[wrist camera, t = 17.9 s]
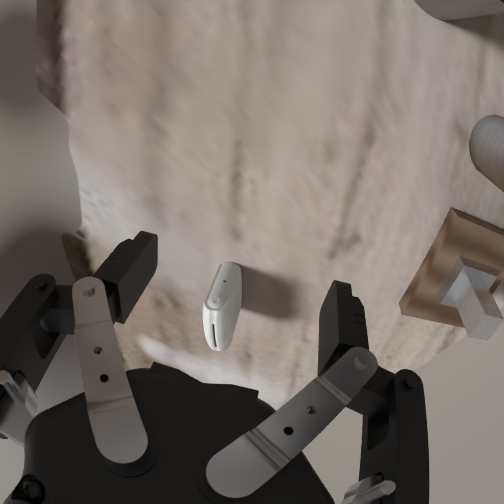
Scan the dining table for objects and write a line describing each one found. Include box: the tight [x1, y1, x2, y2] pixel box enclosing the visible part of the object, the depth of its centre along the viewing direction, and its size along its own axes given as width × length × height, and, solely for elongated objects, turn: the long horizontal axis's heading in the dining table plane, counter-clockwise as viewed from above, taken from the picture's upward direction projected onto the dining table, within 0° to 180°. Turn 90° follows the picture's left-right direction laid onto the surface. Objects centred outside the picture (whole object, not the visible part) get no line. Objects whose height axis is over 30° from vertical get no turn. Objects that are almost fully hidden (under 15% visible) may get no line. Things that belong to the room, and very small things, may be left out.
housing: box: [436, 256, 504, 340], centre depth 40 cm, size 8×8×11 cm
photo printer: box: [203, 262, 242, 351], centre depth 51 cm, size 10×4×12 cm, turn 179°
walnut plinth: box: [399, 207, 504, 328], centre depth 45 cm, size 20×16×3 cm
